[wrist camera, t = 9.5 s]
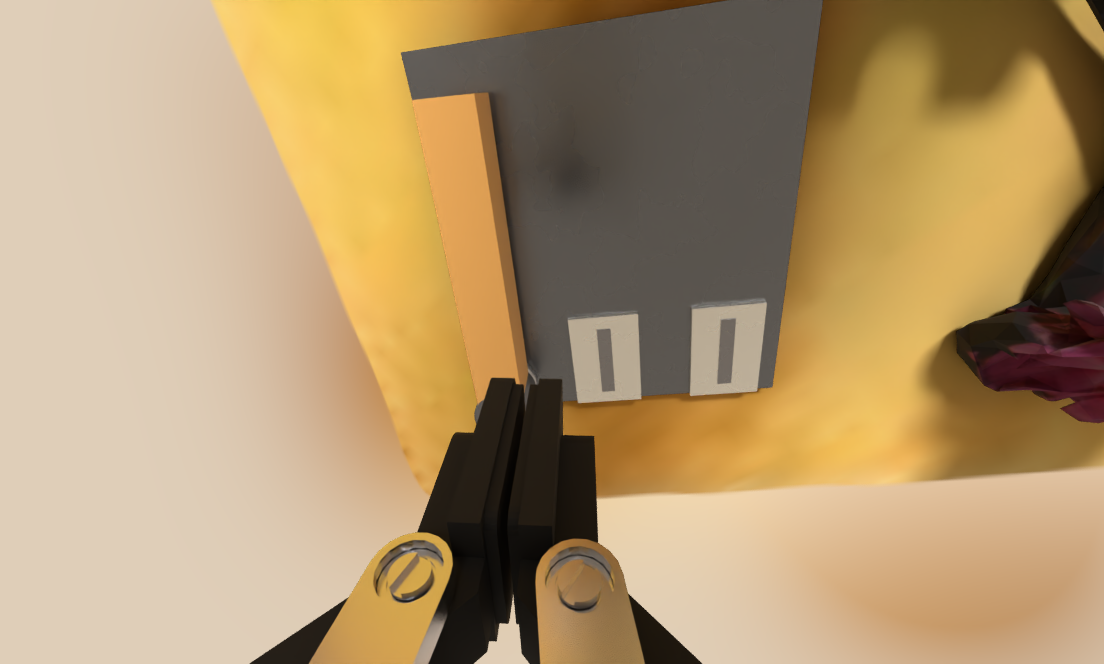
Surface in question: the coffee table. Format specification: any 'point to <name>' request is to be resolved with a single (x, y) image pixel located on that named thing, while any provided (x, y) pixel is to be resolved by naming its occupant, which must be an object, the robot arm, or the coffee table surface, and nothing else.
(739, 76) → the tray
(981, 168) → the coffee table surface
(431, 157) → the bar
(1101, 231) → the flower arrangement
